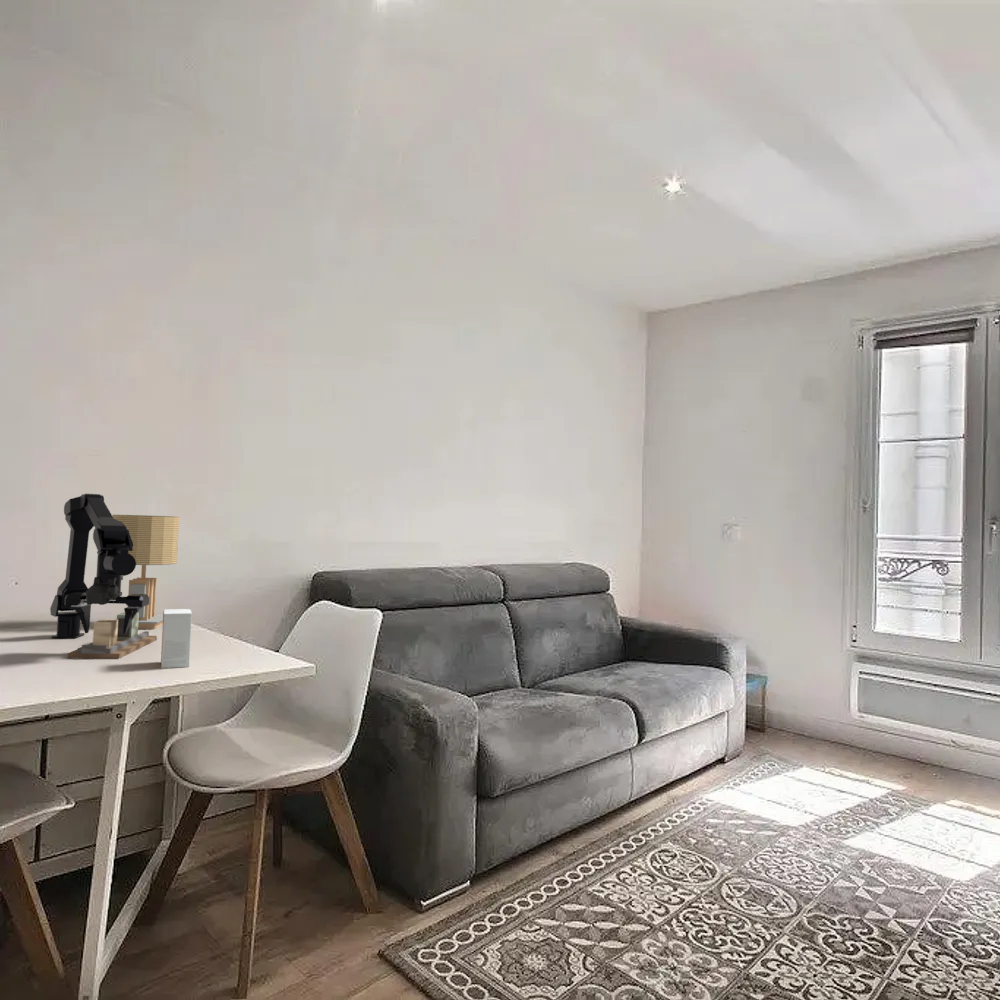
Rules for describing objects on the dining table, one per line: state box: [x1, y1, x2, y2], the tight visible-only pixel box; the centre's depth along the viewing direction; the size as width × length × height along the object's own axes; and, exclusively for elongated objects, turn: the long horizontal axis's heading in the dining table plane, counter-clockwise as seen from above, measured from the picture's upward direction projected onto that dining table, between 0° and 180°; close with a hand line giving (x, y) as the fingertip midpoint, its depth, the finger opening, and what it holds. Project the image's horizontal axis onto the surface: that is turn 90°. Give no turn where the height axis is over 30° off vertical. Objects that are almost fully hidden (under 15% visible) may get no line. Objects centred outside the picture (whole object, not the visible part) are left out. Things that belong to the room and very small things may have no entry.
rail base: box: [66, 611, 158, 660], centre depth 194 cm, size 28×12×8 cm, turn 8°
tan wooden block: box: [92, 619, 118, 648], centre depth 187 cm, size 5×4×7 cm
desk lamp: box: [111, 514, 180, 630], centre depth 233 cm, size 20×20×35 cm
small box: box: [160, 608, 193, 669], centre depth 177 cm, size 8×6×13 cm
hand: (105, 633), depth 187 cm, fingers open, 9 cm apart
